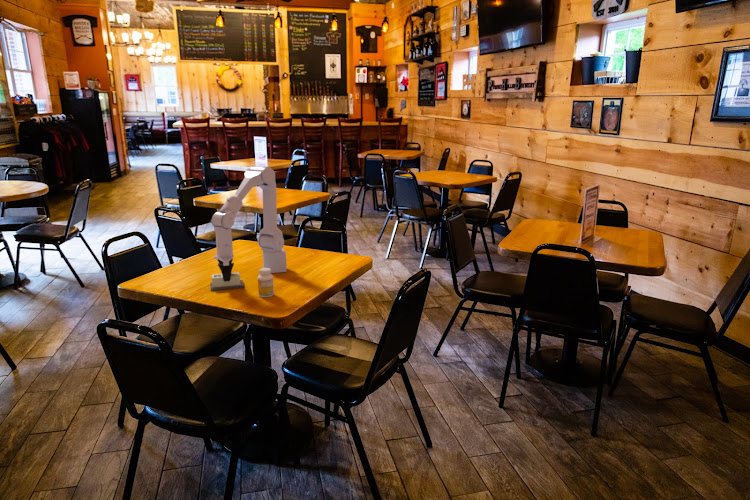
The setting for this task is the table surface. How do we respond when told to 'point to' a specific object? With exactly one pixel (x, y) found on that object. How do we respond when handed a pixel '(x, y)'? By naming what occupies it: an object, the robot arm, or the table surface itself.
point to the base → (228, 286)
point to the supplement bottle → (265, 283)
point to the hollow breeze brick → (220, 282)
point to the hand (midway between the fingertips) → (226, 278)
